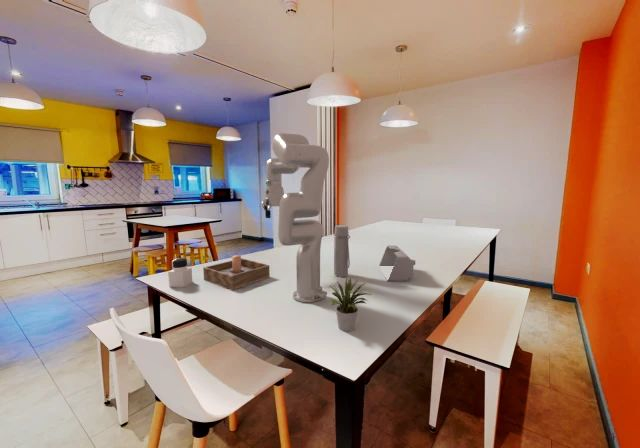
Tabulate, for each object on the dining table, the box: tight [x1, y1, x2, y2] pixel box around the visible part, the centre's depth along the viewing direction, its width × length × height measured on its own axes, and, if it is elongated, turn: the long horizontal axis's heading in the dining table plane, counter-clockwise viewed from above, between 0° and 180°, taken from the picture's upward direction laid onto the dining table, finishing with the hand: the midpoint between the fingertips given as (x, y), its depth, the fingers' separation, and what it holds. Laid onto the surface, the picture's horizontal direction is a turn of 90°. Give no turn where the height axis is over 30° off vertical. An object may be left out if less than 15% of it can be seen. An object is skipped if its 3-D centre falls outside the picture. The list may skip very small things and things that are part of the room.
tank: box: [378, 245, 416, 282], centre depth 144 cm, size 25×16×12 cm, turn 178°
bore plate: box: [219, 266, 252, 276], centre depth 137 cm, size 14×14×2 cm
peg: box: [231, 254, 242, 274], centre depth 137 cm, size 4×4×10 cm
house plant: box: [329, 277, 372, 332], centre depth 88 cm, size 14×14×16 cm
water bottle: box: [333, 224, 351, 278], centre depth 140 cm, size 9×8×25 cm
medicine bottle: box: [167, 257, 194, 288], centre depth 128 cm, size 7×7×12 cm
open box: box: [202, 257, 270, 291], centre depth 137 cm, size 22×22×6 cm
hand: (275, 217), depth 149 cm, fingers open, 9 cm apart
